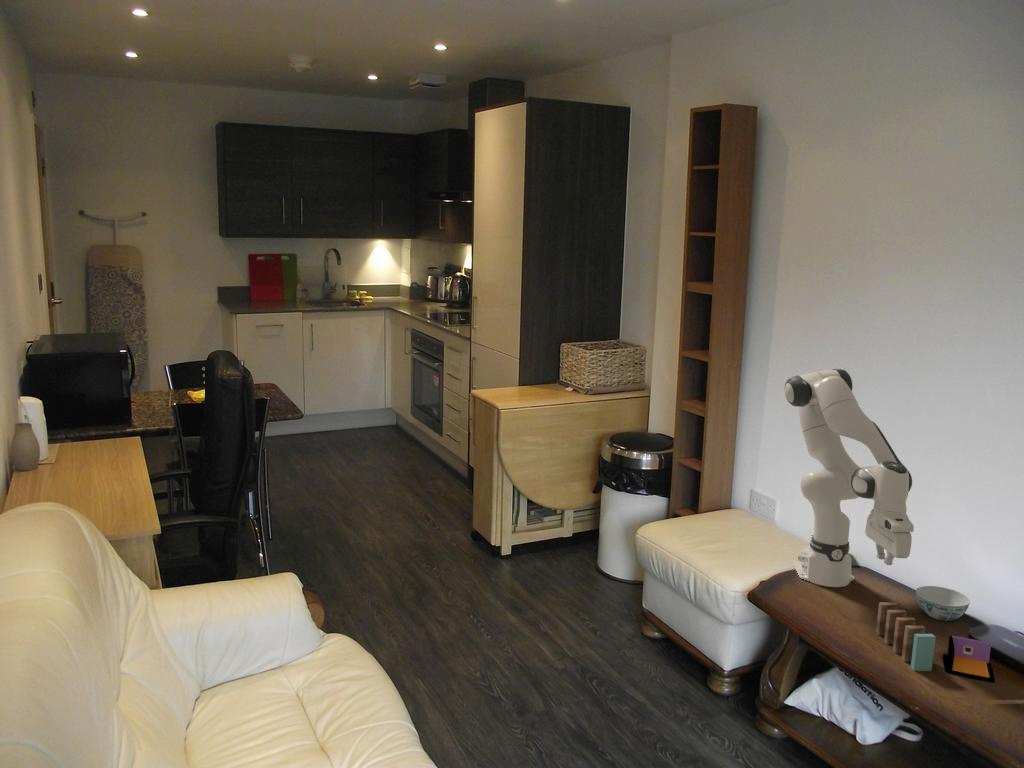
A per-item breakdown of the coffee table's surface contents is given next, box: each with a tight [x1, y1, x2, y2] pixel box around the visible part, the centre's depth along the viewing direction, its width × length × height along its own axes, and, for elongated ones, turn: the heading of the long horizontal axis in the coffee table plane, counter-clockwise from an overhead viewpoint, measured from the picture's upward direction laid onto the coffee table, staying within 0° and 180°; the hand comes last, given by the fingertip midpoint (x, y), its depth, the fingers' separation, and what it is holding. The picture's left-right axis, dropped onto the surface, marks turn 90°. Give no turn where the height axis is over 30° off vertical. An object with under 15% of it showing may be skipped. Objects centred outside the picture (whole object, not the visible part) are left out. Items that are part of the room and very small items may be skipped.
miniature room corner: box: [942, 635, 996, 684], centre depth 228 cm, size 12×12×7 cm
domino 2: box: [883, 609, 908, 645], centre depth 241 cm, size 5×2×10 cm, turn 93°
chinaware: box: [915, 585, 971, 622], centre depth 258 cm, size 15×15×8 cm
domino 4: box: [901, 625, 927, 663], centre depth 231 cm, size 5×2×10 cm, turn 93°
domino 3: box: [892, 617, 917, 654], centre depth 236 cm, size 5×2×10 cm, turn 93°
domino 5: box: [910, 633, 936, 672], centre depth 226 cm, size 5×2×10 cm, turn 92°
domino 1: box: [875, 601, 899, 636], centre depth 246 cm, size 5×2×10 cm, turn 93°
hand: (884, 561), depth 248 cm, fingers open, 3 cm apart
